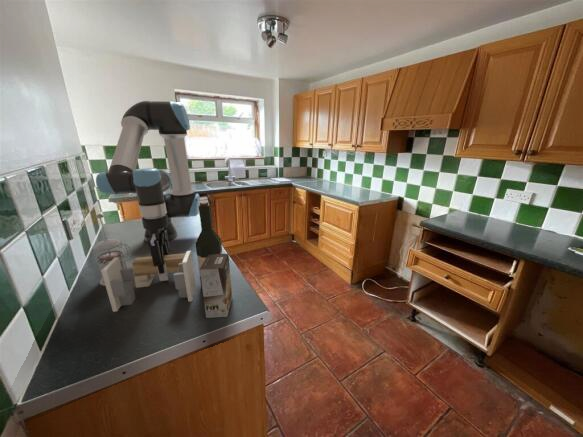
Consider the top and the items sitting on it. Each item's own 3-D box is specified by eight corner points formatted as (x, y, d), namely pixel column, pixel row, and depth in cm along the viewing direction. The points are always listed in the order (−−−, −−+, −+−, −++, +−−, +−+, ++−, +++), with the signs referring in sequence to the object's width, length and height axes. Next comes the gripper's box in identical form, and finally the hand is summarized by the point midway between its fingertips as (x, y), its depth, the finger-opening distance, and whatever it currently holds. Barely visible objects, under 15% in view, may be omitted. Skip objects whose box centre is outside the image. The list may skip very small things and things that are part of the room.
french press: (93, 282, 86) (73, 216, 78) (124, 267, 97) (110, 207, 89) (111, 288, 83) (92, 220, 75) (142, 272, 93) (128, 210, 85)
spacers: (142, 278, 89) (140, 268, 88) (193, 272, 93) (192, 263, 91) (136, 287, 83) (133, 277, 82) (191, 281, 87) (189, 271, 86)
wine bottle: (203, 293, 80) (191, 207, 71) (199, 281, 87) (188, 201, 78) (227, 286, 84) (219, 204, 74) (222, 275, 91) (214, 198, 81)
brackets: (124, 295, 79) (114, 257, 75) (196, 286, 84) (190, 250, 79) (113, 311, 72) (101, 270, 67) (192, 301, 76) (186, 262, 72)
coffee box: (228, 317, 70) (223, 268, 65) (205, 318, 69) (198, 269, 64) (232, 297, 78) (228, 253, 73) (212, 298, 78) (207, 253, 73)
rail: (139, 270, 87) (136, 257, 85) (192, 264, 90) (190, 252, 89) (135, 276, 83) (132, 263, 81) (190, 270, 87) (188, 257, 85)
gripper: (150, 209, 87) (161, 266, 95) (131, 225, 71) (146, 291, 79) (172, 208, 89) (181, 264, 96) (159, 223, 73) (171, 288, 80)
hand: (165, 276), depth 88 cm, fingers closed on rail, 4 cm apart
